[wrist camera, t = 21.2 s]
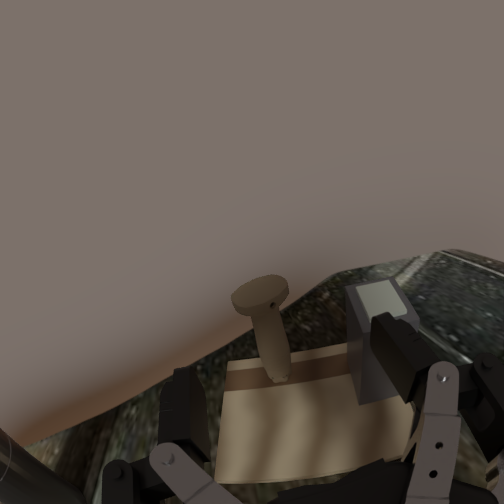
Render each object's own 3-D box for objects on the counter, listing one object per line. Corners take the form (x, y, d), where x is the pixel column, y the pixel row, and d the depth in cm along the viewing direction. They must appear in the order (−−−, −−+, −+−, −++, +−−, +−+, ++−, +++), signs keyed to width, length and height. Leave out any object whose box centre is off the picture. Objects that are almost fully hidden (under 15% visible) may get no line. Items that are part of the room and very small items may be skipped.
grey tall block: (358, 405, 31) (363, 329, 25) (347, 360, 38) (344, 282, 32) (403, 393, 30) (420, 314, 24) (386, 351, 37) (392, 272, 31)
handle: (252, 377, 40) (224, 293, 33) (289, 355, 42) (271, 270, 35) (270, 397, 36) (244, 313, 29) (309, 373, 38) (295, 285, 31)
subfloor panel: (217, 483, 26) (214, 480, 26) (230, 366, 44) (228, 361, 43) (422, 450, 23) (425, 446, 23) (381, 339, 41) (382, 334, 40)
